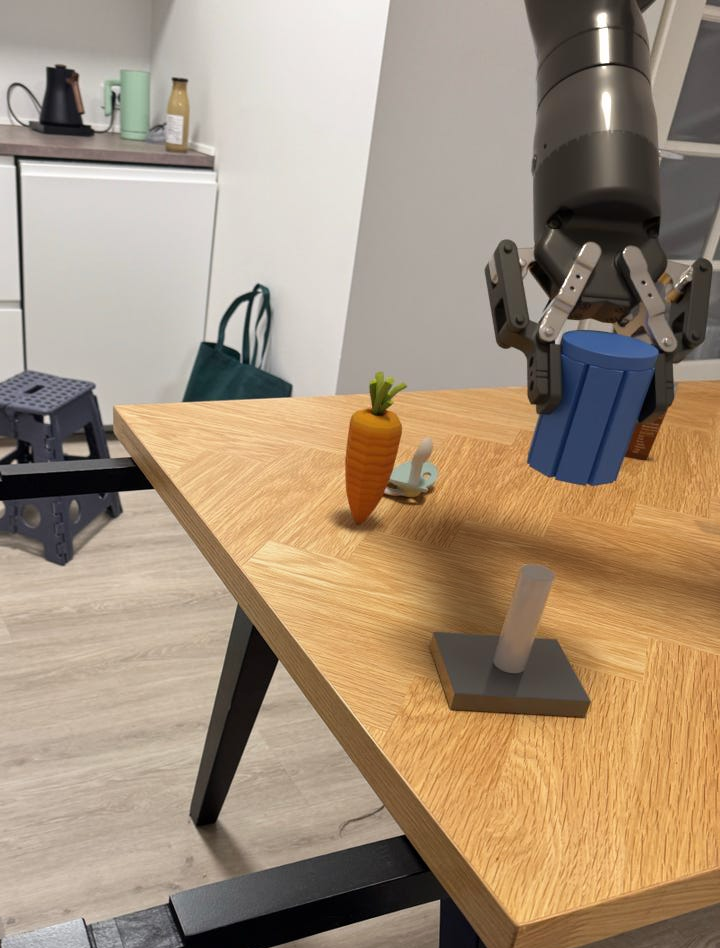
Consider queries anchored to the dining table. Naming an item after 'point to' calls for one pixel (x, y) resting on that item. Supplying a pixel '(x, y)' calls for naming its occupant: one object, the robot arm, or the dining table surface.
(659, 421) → the food container
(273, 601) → the dining table surface
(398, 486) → the pacifier
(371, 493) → the carrot
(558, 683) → the peg stand
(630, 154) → the robot arm
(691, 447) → the dining table surface
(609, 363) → the cap
